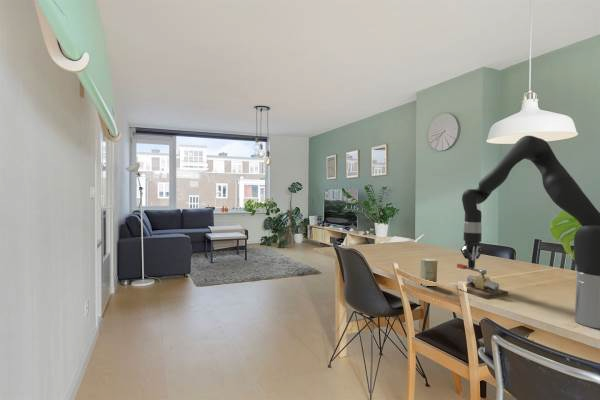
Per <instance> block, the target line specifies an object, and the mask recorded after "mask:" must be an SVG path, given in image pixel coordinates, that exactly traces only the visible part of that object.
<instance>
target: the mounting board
mask: <svg viewBox="0 0 600 400" xmlns="http://www.w3.org/2000/svg"><path fill="white" fill-rule="evenodd" d="M465 285H466V287H467V292H468V293H467V292H466V293H467V294H470V295H474V296H477V297H479V298H483V299H490V298H496V297H497V298H498V297H503V296H508V295H509V294H508V293H509V292H508V291H507V290H505V289H501V288H499V289H498V293H495V294H491V293H488V289H485V290H482V289H479V288H476V287H469V286H467V284H465Z"/></svg>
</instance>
